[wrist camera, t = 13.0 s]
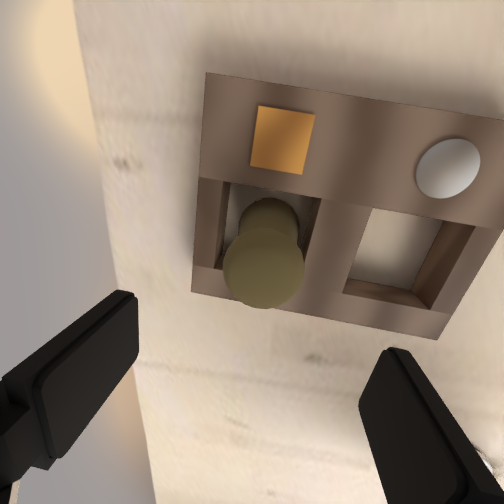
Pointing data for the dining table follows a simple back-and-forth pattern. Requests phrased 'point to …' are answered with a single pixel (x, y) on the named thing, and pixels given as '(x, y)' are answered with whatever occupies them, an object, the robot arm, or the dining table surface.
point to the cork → (265, 256)
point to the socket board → (353, 193)
